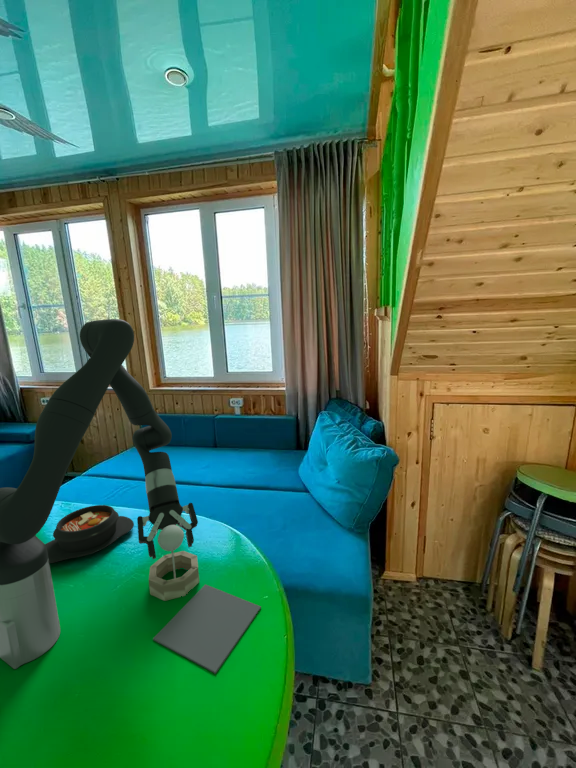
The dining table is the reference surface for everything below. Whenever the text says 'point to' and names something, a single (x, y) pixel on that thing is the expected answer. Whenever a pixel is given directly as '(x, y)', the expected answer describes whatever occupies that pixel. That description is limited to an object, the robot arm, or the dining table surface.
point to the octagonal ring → (177, 585)
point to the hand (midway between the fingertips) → (172, 552)
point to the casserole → (86, 532)
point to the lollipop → (171, 540)
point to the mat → (208, 627)
